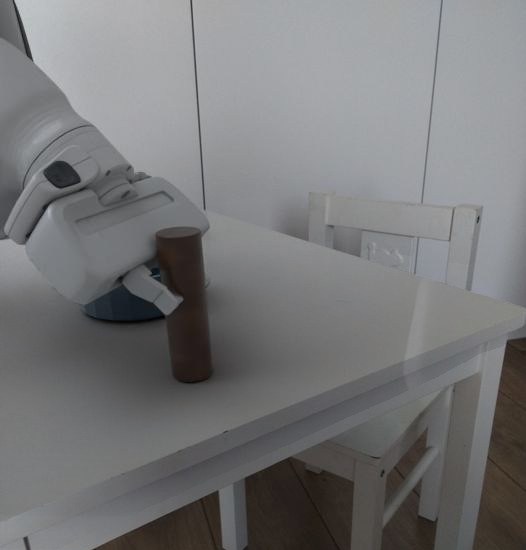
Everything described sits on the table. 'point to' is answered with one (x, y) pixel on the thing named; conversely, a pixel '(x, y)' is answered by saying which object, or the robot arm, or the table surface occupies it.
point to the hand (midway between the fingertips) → (190, 298)
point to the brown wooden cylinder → (186, 302)
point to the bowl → (124, 304)
